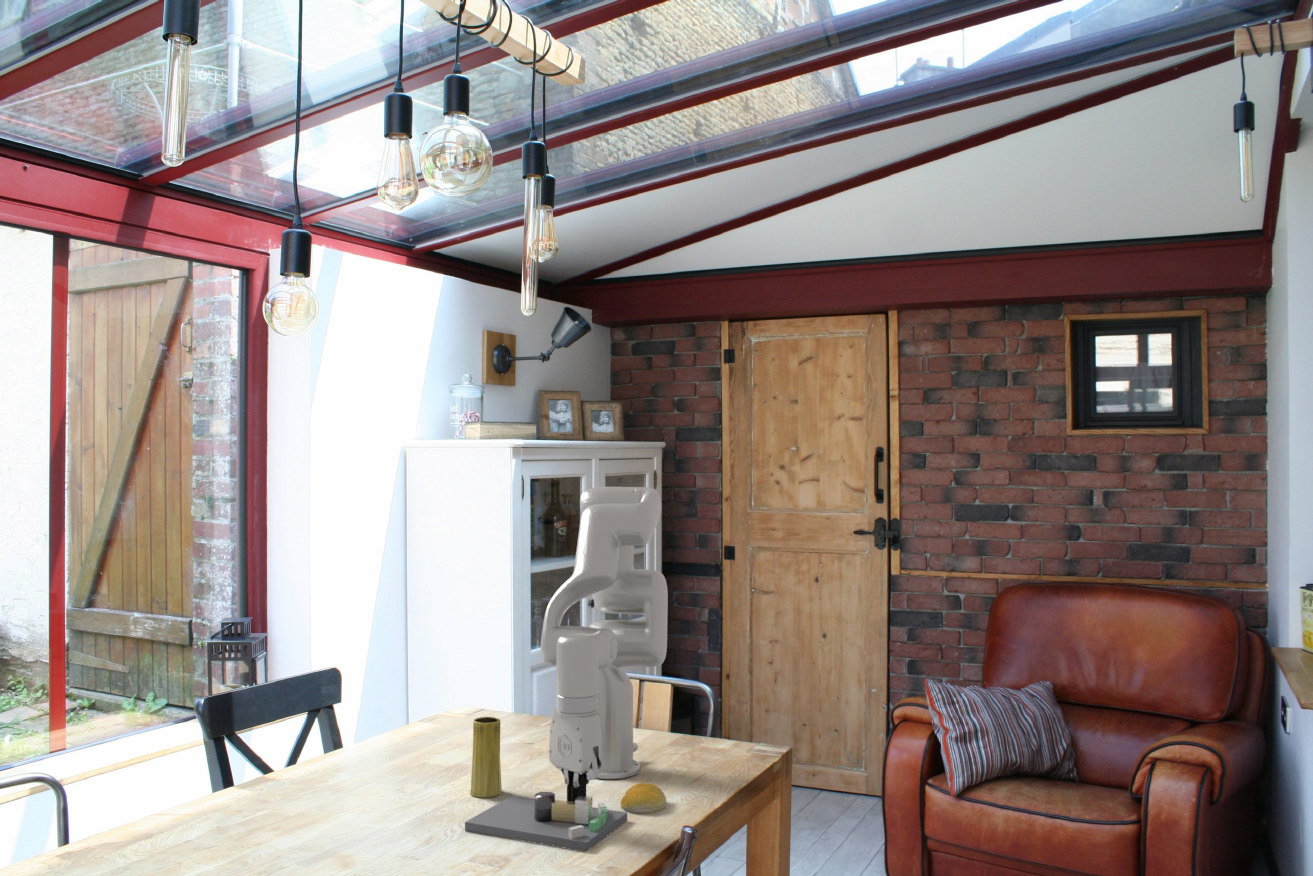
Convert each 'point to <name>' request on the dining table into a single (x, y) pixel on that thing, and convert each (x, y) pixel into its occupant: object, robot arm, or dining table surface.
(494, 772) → the vase
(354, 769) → the dining table surface
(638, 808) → the bread roll
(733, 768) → the dining table surface
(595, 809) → the grey flat slab
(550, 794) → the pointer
